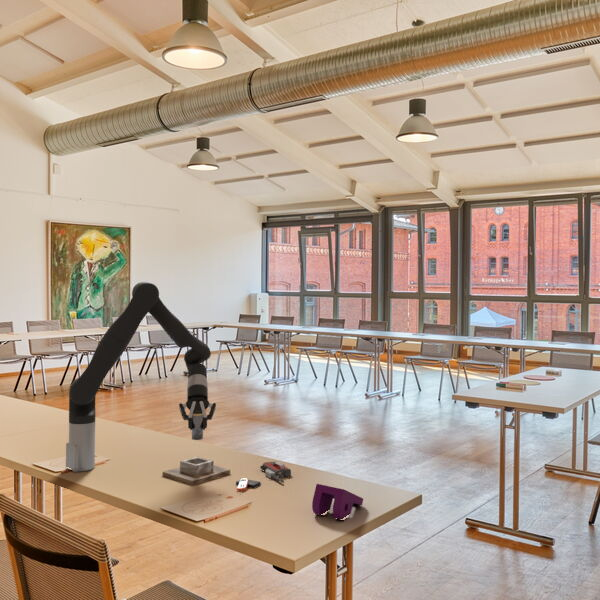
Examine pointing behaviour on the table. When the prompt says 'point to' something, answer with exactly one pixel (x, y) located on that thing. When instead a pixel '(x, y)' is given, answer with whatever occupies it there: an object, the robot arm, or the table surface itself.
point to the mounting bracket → (341, 501)
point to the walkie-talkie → (276, 470)
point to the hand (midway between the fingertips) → (197, 428)
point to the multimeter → (246, 484)
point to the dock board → (196, 471)
